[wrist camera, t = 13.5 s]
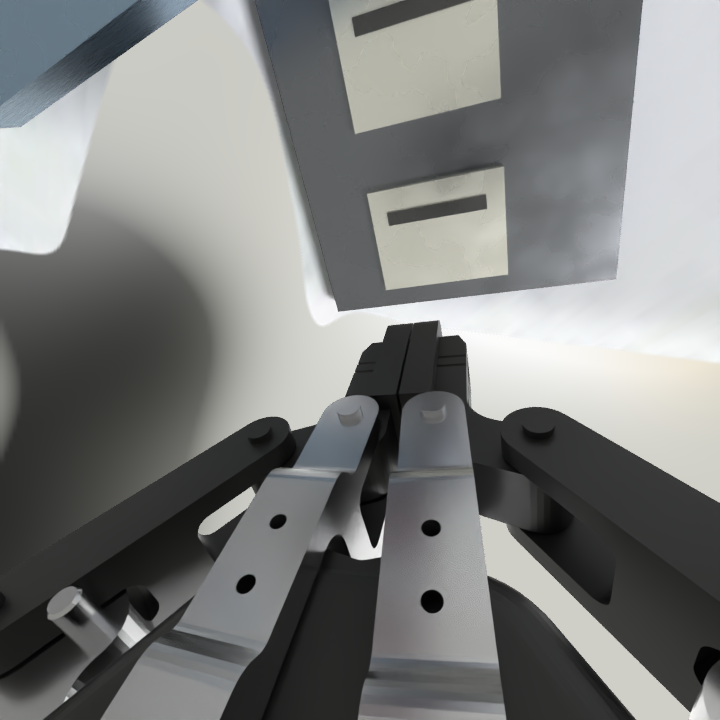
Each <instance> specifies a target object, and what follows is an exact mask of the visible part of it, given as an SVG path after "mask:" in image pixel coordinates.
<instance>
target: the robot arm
mask: <svg viewBox="0 0 720 720" xmlns="http://www.w3.org/2000/svg"><path fill="white" fill-rule="evenodd" d="M251 486H252V488H253V490H254V492H255V494H256V495H255V497H254V499H253V501H252V502H251V504H250V505H249V507H248V509H246V510H245V511H243V512H242V513H241V514H239V515H238V516H236V517H235V518H234V519H232V520H231V521H230V522H228V523H227V524H225V525H224V526H223V527H221V528H220V529H218V530H217V531H216V532H214V533H212V534H210V535H201V534H199V533H198V529H199V526H200V524H201V523H202V522H203V520H204V519H205V518H206V517H208V516H209V515H210V514H212V513H213V512H215V511H216V510H218V509H219V508H221V507H222V506H223V505H225V504H226V503H228V502H229V501H231V500H232V499H233V498H235V497H236V496H238V495H239V494H241V493H242V492H244V491H245V490H247V489H248V488H249V487H251ZM479 515H482V516H485V517H488V518H491V519H494V520H497V521H500V522H503V523H506V524H507V527H508V530H509V532H510V533H511V535H512V536H513V537H514V538H515V539H516V540H517V541H518V542H519V543H520V544H521V545H522V546H523V547H524V548H525V549H526V550H527V551H528V552H529V553H530V554H531V555H532V556H533V557H534V558H535V559H536V560H537V561H538V562H539V563H540V564H541V565H542V566H543V567H544V568H545V569H546V570H547V571H548V572H549V573H550V574H551V575H552V576H553V577H554V578H555V579H556V580H557V581H558V582H559V583H560V584H561V585H562V586H563V587H564V588H565V589H566V590H567V591H568V592H569V593H570V594H571V595H572V596H573V597H574V598H575V599H576V600H577V601H578V602H579V603H580V604H581V605H582V606H583V607H584V608H585V609H586V610H587V611H588V612H589V613H591V615H592V616H593V617H595V618H596V620H597V621H598V622H599V623H600V624H602V626H604V627H605V628H606V629H607V630H608V631H609V632H610V633H611V634H612V635H613V636H614V637H615V638H616V639H617V640H618V641H619V642H620V643H621V644H622V645H623V646H624V647H625V648H626V649H627V650H628V651H629V652H630V653H631V654H632V655H633V656H634V657H635V658H636V659H637V660H638V661H639V662H640V663H641V664H642V665H643V666H644V667H645V668H646V669H647V670H648V671H649V672H650V673H651V674H652V675H653V676H654V677H655V678H656V679H657V680H658V681H659V682H660V683H661V684H662V685H663V686H664V687H665V688H666V689H667V690H668V691H669V692H670V693H671V694H672V695H673V696H674V697H675V698H676V699H677V700H678V701H679V702H680V703H681V704H682V705H683V706H684V707H685V708H686V709H687V710H688V711H689V712H690V715H689V720H720V503H719V502H717V501H715V500H713V499H711V498H710V497H708V496H706V495H705V494H703V493H701V492H699V491H698V490H696V489H694V488H692V487H690V486H689V485H687V484H685V483H684V482H682V481H680V480H678V479H677V478H675V477H673V476H671V475H670V474H668V473H666V472H664V471H663V470H661V469H659V468H658V467H656V466H654V465H652V464H651V463H649V462H647V461H645V460H644V459H642V458H640V457H638V456H637V455H635V454H633V453H631V452H630V451H628V450H626V449H624V448H623V447H621V446H619V445H617V444H616V443H614V442H612V441H610V440H608V439H607V438H605V437H603V436H602V435H600V434H598V433H596V432H595V431H593V430H591V429H590V428H588V427H586V426H584V425H583V424H581V423H579V422H577V421H576V420H574V419H572V418H570V417H569V416H567V415H565V414H563V413H561V412H559V411H556V410H553V409H549V408H542V407H529V408H523V409H520V410H516V411H514V412H512V413H510V414H509V415H507V416H506V417H505V418H504V420H503V421H498V420H493V419H489V418H486V417H483V416H481V415H479V414H478V413H476V412H475V411H474V410H473V409H472V408H471V387H470V377H469V367H468V358H467V348H466V343H465V342H464V341H463V340H462V339H461V338H460V336H458V335H456V336H445V337H442V332H441V325H440V321H439V320H438V321H429V322H419V323H414V324H413V323H410V324H400V325H391V326H388V328H387V330H386V334H385V336H384V339H383V342H380V343H372V344H371V345H370V346H369V347H368V348H367V349H366V350H365V351H364V352H363V353H362V355H361V358H360V360H359V365H357V368H356V370H355V373H354V375H353V378H352V380H351V383H350V386H349V388H348V391H347V394H346V396H345V397H344V398H341V399H339V400H337V401H335V402H333V403H332V404H331V405H330V406H328V407H327V408H326V409H325V411H324V412H323V414H322V416H321V418H320V420H319V421H318V423H317V424H316V425H313V426H309V427H306V428H302V429H298V430H294V431H291V429H290V426H289V424H288V422H287V421H286V420H285V419H283V418H280V417H266V418H262V419H259V420H257V421H254V422H252V423H250V424H248V425H247V426H245V427H243V428H242V429H240V430H239V431H237V432H235V433H234V434H232V435H230V436H229V437H227V438H226V439H224V440H222V441H221V442H219V443H217V444H216V445H214V446H212V447H211V448H209V449H208V450H206V451H204V452H203V453H201V454H199V455H198V456H196V457H194V458H193V459H191V460H190V461H188V462H186V463H185V464H183V465H181V466H180V467H178V468H177V469H175V470H173V471H172V472H170V473H168V474H167V475H165V476H164V477H162V478H160V479H159V480H157V481H155V482H154V483H152V484H150V485H149V486H147V487H146V488H144V489H142V490H141V491H139V492H137V493H136V494H134V495H133V496H131V497H129V498H128V499H126V500H124V501H123V502H121V503H120V504H118V505H116V506H114V507H113V508H111V509H110V510H108V511H106V512H105V513H103V514H101V515H100V516H98V517H97V518H95V519H93V520H92V521H90V522H88V523H87V524H85V525H83V526H82V527H80V528H79V529H77V530H75V531H74V532H72V533H71V534H69V535H67V536H66V537H64V538H62V539H61V540H59V541H57V542H56V543H54V544H52V545H51V546H49V547H48V548H46V549H44V550H43V551H41V552H39V553H38V554H36V555H35V556H33V557H31V558H30V559H28V560H26V561H25V562H23V563H21V564H20V565H18V566H17V567H15V568H13V569H12V570H10V571H8V572H7V573H5V574H3V575H2V576H0V720H636V719H635V718H634V717H633V716H632V714H631V713H630V712H629V711H628V710H627V709H626V707H625V706H624V705H623V704H622V703H621V702H620V700H619V699H618V698H617V697H616V696H615V695H614V693H613V692H612V691H611V690H610V689H609V688H608V686H607V685H606V684H605V683H604V682H603V681H602V679H601V678H600V677H599V676H598V675H597V674H596V672H595V671H594V670H593V669H592V668H591V666H590V665H589V664H588V663H587V662H586V661H585V659H584V658H583V657H582V656H581V655H580V654H579V652H578V651H577V650H576V649H575V648H574V647H573V646H572V645H571V643H570V642H569V641H568V640H567V639H566V638H565V636H564V635H563V634H562V633H561V631H560V630H559V629H558V628H557V627H556V625H555V624H554V623H553V622H552V621H551V620H550V619H549V618H548V617H547V615H546V614H545V613H543V612H542V611H541V610H540V609H539V608H538V607H537V606H536V605H535V604H534V603H533V602H532V601H530V600H529V599H528V598H526V597H525V596H524V595H522V594H521V593H520V592H518V591H517V590H515V589H513V588H512V587H510V586H508V585H507V584H505V583H503V582H500V581H498V580H496V579H494V578H492V577H489V576H487V571H486V564H485V556H484V548H483V541H482V533H481V526H480V518H479Z"/></svg>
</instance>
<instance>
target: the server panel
mask: <svg viewBox="0 0 720 720" xmlns="http://www.w3.org/2000/svg"><path fill="white" fill-rule="evenodd" d="M255 2H256V6H257V9H258V13H259V17H260V21H261V24H262V28H263V32H264V36H265V39H266V43H267V47H268V51H269V54H270V58H271V62H272V66H273V69H274V73H275V77H276V80H277V84H278V88H279V92H280V95H281V99H282V103H283V107H284V110H285V114H286V118H287V122H288V125H289V129H290V133H291V136H292V140H293V144H294V148H295V151H296V155H297V159H298V163H299V166H300V170H301V174H302V178H303V181H304V185H305V189H306V193H307V196H308V200H309V204H310V207H311V211H312V215H313V219H314V222H315V226H316V230H317V234H318V237H319V241H320V245H321V249H322V252H323V256H324V260H325V263H326V267H327V271H328V275H329V278H330V282H331V286H332V290H333V293H334V297H335V301H336V305H337V308H338V312H339V311H347V310H356V309H364V308H373V307H381V306H390V305H398V304H407V303H415V302H424V301H432V300H441V299H449V298H458V297H467V296H475V295H484V294H492V293H501V292H509V291H518V290H526V289H535V288H543V287H552V286H560V285H569V284H577V283H586V282H594V281H603V280H612V279H616V274H617V264H618V253H619V243H620V232H621V222H622V211H623V201H624V191H625V180H626V170H627V159H628V149H629V139H630V128H631V118H632V107H633V97H634V86H635V76H636V66H637V55H638V45H639V34H640V24H641V13H642V3H643V0H255Z"/></svg>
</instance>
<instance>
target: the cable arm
mask: <svg viewBox="0 0 720 720" xmlns="http://www.w3.org/2000/svg"><path fill="white" fill-rule="evenodd" d="M196 1H197V0H0V128H11V127H21V126H22V125H24V124H25V123H27V122H28V121H29V120H31V119H32V118H34V117H35V116H36V115H38V114H39V113H41V112H42V111H43V110H45V109H46V108H48V107H49V106H50V105H52V104H53V103H55V102H56V101H57V100H59V99H60V98H62V97H63V96H64V95H66V94H67V93H69V92H70V91H71V90H73V89H74V88H76V87H77V86H78V85H80V84H81V83H83V82H84V81H85V80H87V79H88V78H90V77H91V76H92V75H94V74H95V73H97V72H98V71H99V70H101V69H102V68H104V67H105V66H106V65H108V64H109V63H111V62H112V61H113V60H115V59H116V58H118V57H119V56H120V55H122V54H123V53H125V52H126V51H127V50H129V49H130V48H131V47H133V46H134V45H136V44H137V43H139V42H140V41H141V40H143V39H144V38H146V37H147V36H148V35H150V34H151V33H152V32H154V31H155V30H157V29H158V28H160V27H161V26H162V25H164V24H165V23H167V22H168V21H169V20H171V19H172V18H174V17H175V16H176V15H177V14H179V13H181V12H182V11H183V10H185V9H186V8H187V7H189V6H190V5H192V4H193V3H195V2H196Z"/></svg>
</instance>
